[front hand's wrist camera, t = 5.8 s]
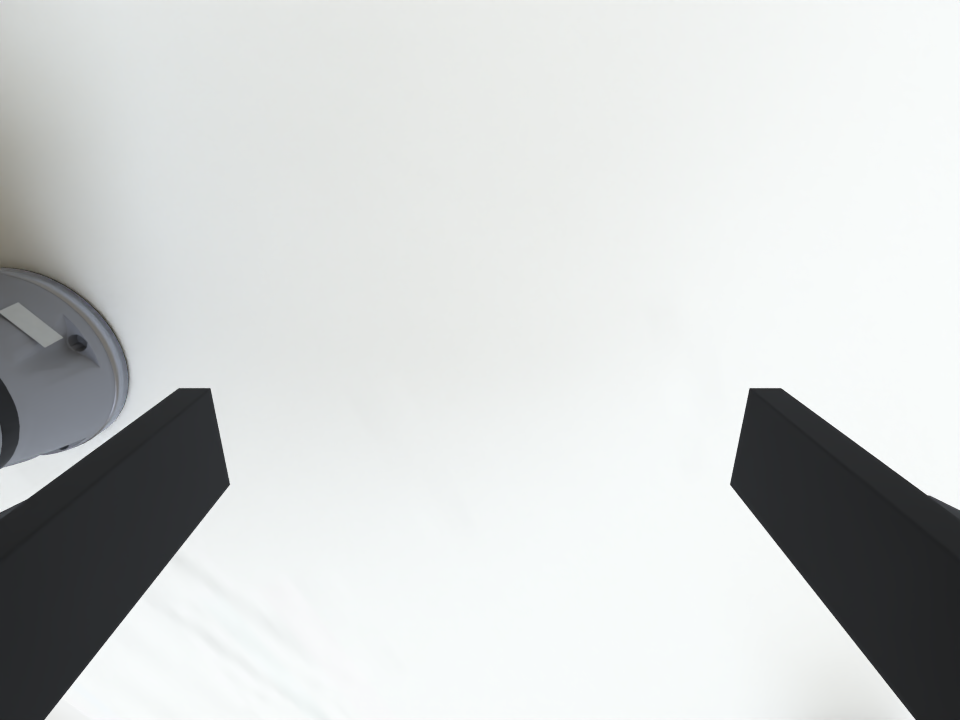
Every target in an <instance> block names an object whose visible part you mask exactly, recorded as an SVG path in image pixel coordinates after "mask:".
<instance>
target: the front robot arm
mask: <svg viewBox="0 0 960 720" xmlns="http://www.w3.org/2000/svg"><path fill="white" fill-rule="evenodd" d="M127 392H128V370H127V364H126V360H125V357H124V354H123V351H122V349H121V346H120V344H119V342H118V340H117V338H116V336H115V335H114V333H113V331H112V330H111V328H110V327H109V325H108V324H107V323H106V321H105V320H104V319H103V318H102V316H101V315H100V314H99V313H98V312H97V311H96V310H95V309H94V308H93V307H92V306H91V305H90V304H89V303H88V302H87V301H85V300H84V299H83V298H82V297H80V296H79V295H78V294H76V293H75V292H74V291H72V290H70V289H69V288H67V287H66V286H64V285H62V284H60V283H58V282H57V281H55V280H52V279H50V278H48V277H45V276H43V275H40V274H37V273H34V272H30V271H26V270H21V269H14V268H0V469H1V468H3V467H7V466H10V465H14V464H17V463H21V462H24V461H27V460H30V459H33V458H35V457H37V456H39V455H48V454H54V453H58V452H62V451H65V450H69V449H71V448H74V447H77V446H79V445H81V444H84V443H85V442H87V441H89V440H90V439H92V438H93V437H95V436H96V435H98V434H99V433H100V432H102V431H103V430H105V429H106V428H107V427H108V426H110V425H111V424H112V423H113V422H114V420H115V419H116V418H117V417H118V415H119V414H120V412H121V410H122V408H123V406H124V403H125V400H126V397H127ZM229 485H230V483H229V478H228V473H227V468H226V463H225V458H224V453H223V448H222V443H221V438H220V433H219V428H218V424H217V419H216V414H215V409H214V404H213V399H212V394H211V389H210V388H179V389H177V390H176V391H175V392H173V393H172V394H170V395H169V396H168V397H166V398H165V399H164V400H162V401H161V402H160V403H158V404H157V405H155V406H154V407H153V408H151V409H150V410H149V411H147V412H146V413H145V414H143V415H142V416H140V417H139V418H138V419H136V420H135V421H134V422H132V423H131V424H130V425H128V426H127V427H125V428H124V429H123V430H121V431H120V432H119V433H117V434H116V435H114V436H113V437H112V438H110V439H109V440H108V441H106V442H105V443H104V444H102V445H101V446H99V447H98V448H97V449H95V450H94V451H93V452H91V453H90V454H89V455H87V456H86V457H84V458H83V459H82V460H80V461H79V462H78V463H76V464H75V465H74V466H72V467H71V468H69V469H68V470H67V471H65V472H64V473H63V474H61V475H60V476H59V477H57V478H56V479H54V480H53V481H52V482H50V483H49V484H48V485H46V486H45V487H43V488H42V489H41V490H39V491H38V492H37V493H35V494H34V495H33V496H31V497H30V498H28V499H27V500H25V501H23V502H21V503H19V504H17V505H15V506H13V507H11V508H9V509H7V510H5V511H3V512H1V513H0V720H44V719H45V718H46V717H47V716H48V714H49V713H50V712H51V711H52V709H53V708H54V707H55V705H56V704H57V703H58V702H59V700H60V699H61V698H62V697H63V695H64V694H65V693H66V692H67V690H68V689H69V688H70V687H71V685H72V684H73V683H74V681H75V680H76V679H77V678H78V676H79V675H80V674H81V673H82V671H83V670H84V669H85V668H86V666H87V665H88V664H89V662H90V661H91V660H92V659H93V657H94V656H95V655H96V654H97V652H98V651H99V650H100V649H101V647H102V646H103V645H104V643H105V642H106V641H107V640H108V638H109V637H110V636H111V635H112V633H113V632H114V631H115V630H116V628H117V627H118V626H119V624H120V623H121V622H122V621H123V619H124V618H125V617H126V616H127V614H128V613H129V612H130V611H131V609H132V608H133V607H134V605H135V604H136V603H137V602H138V600H139V599H140V598H141V597H142V595H143V594H144V593H145V592H146V590H147V589H148V588H149V586H150V585H151V584H152V583H153V581H154V580H155V579H156V578H157V576H158V575H159V574H160V573H161V571H162V570H163V569H164V567H165V566H166V565H167V564H168V562H169V561H170V560H171V559H172V557H173V556H174V555H175V554H176V552H177V551H178V550H179V548H180V547H181V546H182V545H183V543H184V542H185V541H186V540H187V538H188V537H189V536H190V535H191V533H192V532H193V531H194V529H195V528H196V527H197V526H198V524H199V523H200V522H201V521H202V519H203V518H204V517H205V516H206V514H207V513H208V512H209V510H210V509H211V508H212V507H213V505H214V504H215V503H216V502H217V500H218V499H219V498H220V497H221V495H222V494H223V493H224V491H225V490H226V489H227V488H228V486H229ZM730 485H731V486H732V488H733V489H734V490H735V491H736V493H737V494H738V495H739V497H740V498H741V499H742V500H743V502H744V503H745V504H746V505H747V507H748V508H749V509H750V510H751V512H752V513H753V514H754V516H755V517H756V518H757V519H758V521H759V522H760V523H761V524H762V526H763V527H764V528H765V529H766V531H767V532H768V533H769V535H770V536H771V537H772V538H773V540H774V541H775V542H776V543H777V545H778V546H779V547H780V548H781V550H782V551H783V552H784V554H785V555H786V556H787V557H788V559H789V560H790V561H791V562H792V564H793V565H794V566H795V567H796V569H797V570H798V571H799V573H800V574H801V575H802V576H803V578H804V579H805V580H806V581H807V583H808V584H809V585H810V586H811V588H812V589H813V590H814V592H815V593H816V594H817V595H818V597H819V598H820V599H821V600H822V602H823V603H824V604H825V605H826V607H827V608H828V609H829V611H830V612H831V613H832V614H833V616H834V617H835V618H836V619H837V621H838V622H839V623H840V624H841V626H842V627H843V628H844V630H845V631H846V632H847V633H848V635H849V636H850V637H851V638H852V640H853V641H854V642H855V643H856V645H857V646H858V647H859V649H860V650H861V651H862V652H863V654H864V655H865V656H866V657H867V659H868V660H869V661H870V662H871V664H872V665H873V666H874V668H875V669H876V670H877V671H878V673H879V674H880V675H881V676H882V678H883V679H884V680H885V681H886V683H887V684H888V685H889V687H890V688H891V689H892V690H893V692H894V693H895V694H896V695H897V697H898V698H899V699H900V700H901V702H902V703H903V704H904V706H905V707H906V708H907V709H908V711H909V712H910V713H911V714H912V716H913V717H914V718H915V719H916V720H960V510H958V509H956V508H954V507H952V506H950V505H948V504H946V503H944V502H942V501H940V500H938V499H936V498H934V497H931V496H927V495H926V494H925V493H923V492H922V491H921V490H919V489H918V488H917V487H915V486H914V485H912V484H911V483H910V482H908V481H907V480H906V479H904V478H903V477H901V476H900V475H899V474H897V473H896V472H895V471H893V470H892V469H891V468H889V467H888V466H886V465H885V464H884V463H882V462H881V461H880V460H878V459H877V458H876V457H874V456H873V455H871V454H870V453H869V452H867V451H866V450H865V449H863V448H862V447H861V446H859V445H858V444H856V443H855V442H854V441H852V440H851V439H850V438H848V437H847V436H846V435H844V434H843V433H841V432H840V431H839V430H837V429H836V428H835V427H833V426H832V425H830V424H829V423H828V422H826V421H825V420H824V419H822V418H821V417H820V416H818V415H817V414H815V413H814V412H813V411H811V410H810V409H809V408H807V407H806V406H805V405H803V404H802V403H800V402H799V401H798V400H796V399H795V398H794V397H792V396H791V395H790V394H788V393H787V392H785V391H784V390H783V389H781V388H750V389H749V394H748V399H747V404H746V409H745V414H744V419H743V424H742V428H741V433H740V438H739V443H738V448H737V453H736V458H735V463H734V468H733V473H732V478H731V483H730Z"/></svg>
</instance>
